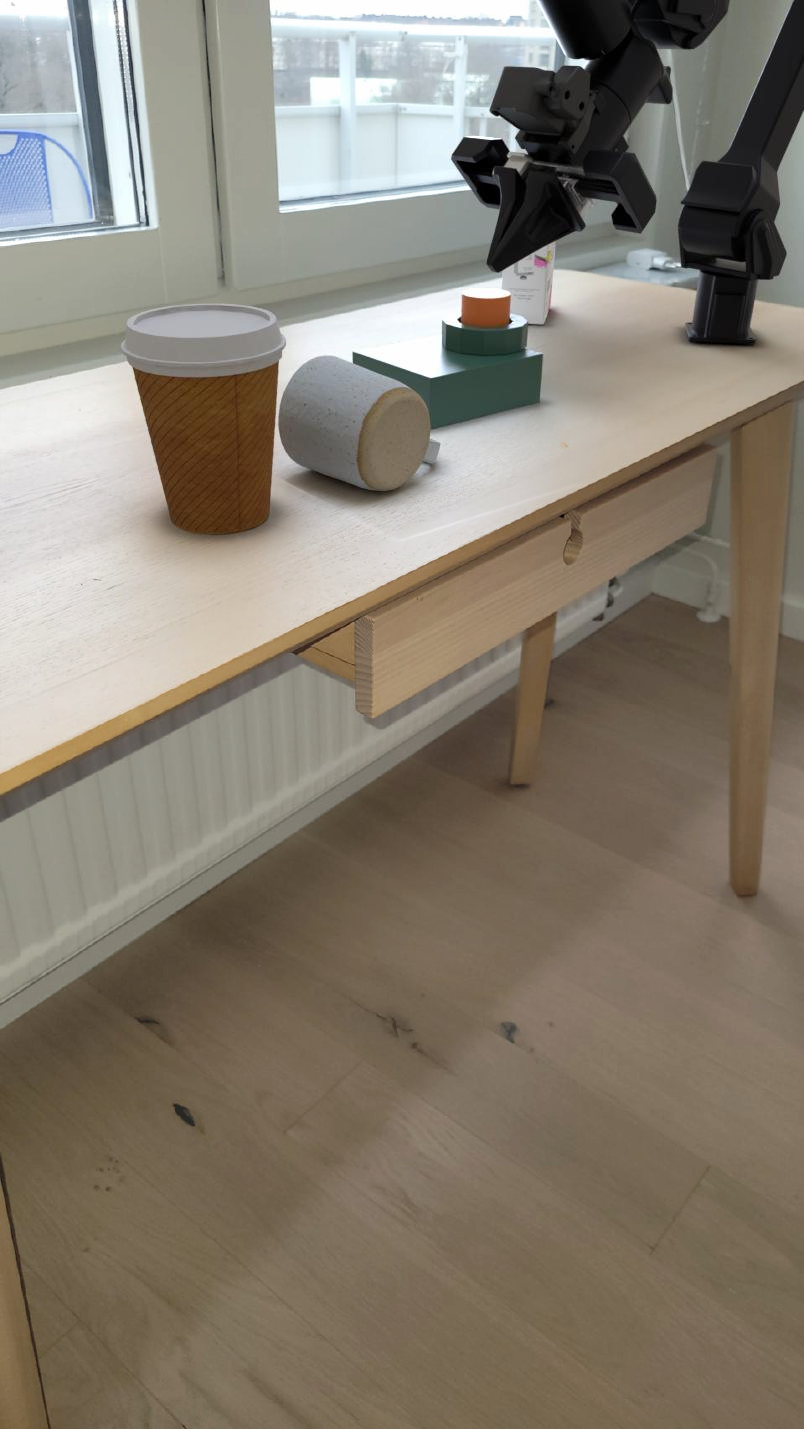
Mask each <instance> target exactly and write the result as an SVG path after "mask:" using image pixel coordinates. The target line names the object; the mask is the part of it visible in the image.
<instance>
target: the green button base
mask: <svg viewBox="0 0 804 1429" xmlns="http://www.w3.org/2000/svg"><path fill="white" fill-rule="evenodd" d="M528 333H529V324H528V321H527V320H526V319H525V318H524V317H522V316H519V315H515V314H511V313H510V320H509V325H504V326H498V327H479V326H470V325H466V324H462V323H461V311H460V312H454V313H449V314H448V315H446V316H445V317H443V318H442V319H441V334H436V335H431V336H426V337H420V338H415V339H410V340H405V341H399V342H394V343H389V344H385V345H379V346H374V347H369V348H364V349H359V350H358V349H357V350H354V351H352V353H351V354H352V356H351V357H352V363H353V364H356V365H358V366H361V367H363V368H366V369H368V370H370V371H373V372H375V373H378V374H380V375H383V376H386V377H389V378H392V379H394V380H397V381H399V382H401V383H403V384H404V385H406V386H408V387H409V388H411V389H412V390H414V391H415V392H416V393H418V394H419V395H420V397H421V398H422V399H423V400H424V402H425V403H426V406H427V408H428V411H429V417H430V425H431V430H435V429H439V428H444V427H448V426H452V425H455V424H459V423H463V422H468V421H472V420H475V419H479V418H483V417H487V416H492V415H495V414H499V413H503V412H507V411H510V410H515V409H518V408H523V407H527V406H530V405H534V404H539V403H540V402H541V391H542V390H541V388H542V378H543V377H542V376H543V365H544V364H543V363H544V353H543V352H539V351H536V350H532V349H529V348H526V347H527V346H528V336H529V335H528Z"/></svg>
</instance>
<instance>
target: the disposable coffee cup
mask: <svg viewBox="0 0 804 1429" xmlns="http://www.w3.org/2000/svg"><path fill="white" fill-rule="evenodd" d="M124 337H125V338H124V340H123V341H122V342H121V343H120V349H121V352H122V354H123V355H124V356H126V360H127V363H128V364H129V366H131V368H132V372H133V375H134V380H135V383H136V387H137V392H138V395H139V401H140V404H141V408H142V412H143V415H144V418H145V419H144V420H145V423H146V427H147V431H148V435H149V438H150V443H151V447H152V452H153V455H154V459H155V463H156V466H157V471H158V474H159V478H160V482H161V486H162V491H163V494H164V498H165V502H166V505H167V510H168V513H169V514H168V515H169V519H170V521H171V522H172V524H173V525H174V526H176V527H178V528H180V529H181V530H185V531H188V532H193V533H197V534H198V533H199V534H210V535H213V534H214V535H216V534H231V533H236V532H241V531H245V530H249V529H251V528H254V527H257V526H258V525H261V524H262V523H263V522H265V521H266V520H267V519H269V517H270V513H271V497H272V495H271V493H272V482H273V478H272V477H273V466H274V464H273V463H274V448H275V432H276V430H275V429H276V418H277V398H278V384H279V367H280V360H281V359H282V358H283V350H284V349H285V347H286V346H287V338H286V336H285V335H284V334H282V333H281V329H280V326H279V322H278V318H277V316H276V315H275V314H274V313H273V312H271V311H270V310H267V309H264V308H260V307H257V306H250V305H242V304H234V303H187V304H180V305H179V304H178V305H170V306H163V307H157V308H153V309H148V310H145V311H142V312H138V313H135V314H134V315H131V316H130V317H129V318H128V319H127V320H126V324H125V336H124Z"/></svg>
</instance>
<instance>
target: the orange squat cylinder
mask: <svg viewBox="0 0 804 1429" xmlns="http://www.w3.org/2000/svg"><path fill="white" fill-rule="evenodd" d="M510 303H511V293H510V292H508V291H505V290H502V288H492V287H490V288H489V287H482V288H481V287H478V288H469V289H466V290H465V289H464V290H463V291H462V292H461V310H460V312H461V323H462V324H466V325H470V326H479V327H498V326H504V325H509V320H510Z"/></svg>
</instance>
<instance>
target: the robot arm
mask: <svg viewBox="0 0 804 1429" xmlns="http://www.w3.org/2000/svg"><path fill="white" fill-rule="evenodd" d="M730 1H731V0H536V2H537V5H538V6H539V8H540V11H541V12H542V14H543V16H544V18H545V20H546V21H547V23H548V25H549V27H550V29H551V31H552V33H553V35H554V37H555V40H556V41H557V43H558V45H559V46H560V49H561V50H562V52H563V54H564V55H565V57H567V59H572V60H582V59H583V60H585V61H586V62H585V64H584V65H583V66H582V65H581V66H580V65H562V66H560V67H559V69H558V70H556V71H554V70H551V69H550V70H548V69H542V68H541V67H540V68H539V67H535V66H515V65H514V66H513V65H511V66H510V65H505V66H503V67H502V70H501V72H500V76H499V78H498V81H497V85H496V87H495V91H494V94H493V97H492V100H491V101H490V105H489V108H488V112H489V113H490V114H491V115H492V116H494V117H500V118H502V119H503V120H504V121H506V122H507V123H509V124H510V125H512V127H514V128H516V129H517V130H518V132H517V133H516V135H515V136H514V140H515V142H516V143H517V144H518V146H519V148H520V149H521V150H525V151H526V153H525V152H518V151H510V149H509V148H508V145H507V144H506V142H505V140H503V138H497V137H488V136H479V135H469V136H462V139H461V140H460V142H459V143H458V145H457V146H456V147H455V149H454V150H453V151H452V153H451V156H450V160H451V162H452V163H453V165H454V166H455V168H456V169H457V171H458V172H459V173H460V175H461V177H462V178H463V179H464V181H465V183H466V184H467V185H468V187H469V188H470V190H471V191H472V193H473V194H474V196H475V197H476V199H477V200H478V201H479V203H480V204H482V205H483V206H485V207H486V208H488V209H493V210H498V216H497V221H496V223H495V227H494V231H493V235H492V239H491V242H490V246H489V250H488V253H487V257H486V259H485V260H486V261H485V264H486V266H487V268H488V269H489V270H490V272H493V273H497V274H500V273H501V272H503V270H505V269H506V268H508V267H510V266H511V265H513V264H515V263H517V262H518V261H520V260H522V259H523V258H525V257H527V256H529V255H530V254H532V253H534V252H536V251H537V250H539V249H541V248H543V247H545V246H547V245H549V244H551V243H553V242H555V241H556V242H557V241H559V240H560V239H561V240H562V238H564V237H567V236H569V235H570V234H573V233H575V232H578V233H581V232H583V231H584V230H585V228H586V227H587V225H586V222H585V220H584V218H585V216H586V215H587V213H588V211H590V208H595V207H596V205H597V204H598V203H597V200H599V201H606V202H613V203H616V207H615V208H614V210H613V212H612V213H611V214H610V216H611V221H612V222H611V223H612V225H613V227H614V229H615V230H616V231H622V232H628V233H632V234H633V233H634V234H640V235H641V234H642V233H643V231H644V230H645V228H646V227H647V225H649V222H650V221H651V219H652V218H653V217H654V215H655V213H656V208H657V202H658V201H657V200H658V198H657V195H656V192H655V191H654V188H653V186H652V185H651V182H650V180H649V179H648V176H647V175H646V172H645V170H644V169H643V167H642V165H641V162H640V160H639V159H638V156H637V155H636V153H635V152H629V151H628V150H629V148H630V146H629V143H628V142H627V140H626V138H625V135H626V133H627V132H628V130H629V129H630V127H631V126H632V124H633V122H634V121H635V119H636V118H637V116H638V115H639V114H640V112H641V111H642V109H643V107H644V106H645V104H652V105H653V104H654V105H670V104H671V103H672V102H673V97H674V96H673V95H674V88H673V84H672V80H671V74H672V68H671V66H669V65H664V63H663V61H662V58H661V56H660V53H659V51H658V50H682V51H683V50H685V51H687V50H688V51H691V50H696V49H697V48H698V47H700V46H702V45H703V44H704V42H706V41H707V39H708V38H709V36H711V34H713V32H714V31H715V29H716V28H717V27H718V26H719V24H720V23H721V22H722V21H723V20H724V18H725V17H726V16H727V14H728V11H729V6H730ZM803 114H804V0H792V2H791V3H790V6H789V8H788V11H787V13H786V15H785V18H784V20H783V23H782V24H781V26H780V29H779V31H778V34H777V37H776V39H775V41H774V44H773V45H772V48H771V51H770V52H769V55H768V57H767V59H766V62H765V64H764V66H763V69H762V72H761V74H760V76H759V77H758V81H757V83H756V85H755V87H754V90H753V92H752V94H751V97H750V99H749V101H748V104H747V106H746V109H745V111H744V114H743V115H742V117H741V120H740V122H739V125H738V127H737V129H736V131H735V134H734V136H733V139H732V141H731V143H730V146H729V147H728V149H727V151H726V152H725V153H724V154H723V155H722V156H721V157H720V158H718V160H717V161H713V160H711V161H710V160H701V161H700V163H699V164H698V165H697V167H696V168H695V170H694V173H693V177H692V179H691V183H690V185H689V188H688V190H687V192H686V194H685V195H684V196H683V198H681V200H680V205H682V208H681V210H680V214H679V216H678V221H677V234H678V246H679V257H680V267H681V268H683V269H692V270H697V271H699V272H698V280H697V287H696V294H695V300H694V307H693V314H692V319H691V320H692V321H690V322H685V324H684V330H685V334H686V337H687V339H688V341H689V342H694V343H695V342H696V343H697V342H698V343H720V344H743V345H755V344H756V343H757V337H756V335H755V333H754V332H753V330H752V327H751V324H752V318H753V312H754V306H755V301H756V296H757V289H758V284H759V280H760V281H771V280H774V278H775V277H778V276H780V275H781V271H782V269H783V267H784V264H785V261H786V259H787V255H788V253H787V250H786V246H785V244H784V242H783V240H782V238H781V237H782V236H781V235H780V233H779V230H778V228H777V226H776V222H775V221H776V219H777V216H778V213H779V210H780V207H781V196H780V195H781V194H780V187H779V176H778V171H779V168H780V166H781V164H782V161H783V159H784V157H785V154H786V152H787V150H788V147H789V145H790V143H791V141H792V138H793V136H794V134H795V132H796V129H797V127H798V125H799V122H800V120H801V118H802V116H803Z"/></svg>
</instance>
